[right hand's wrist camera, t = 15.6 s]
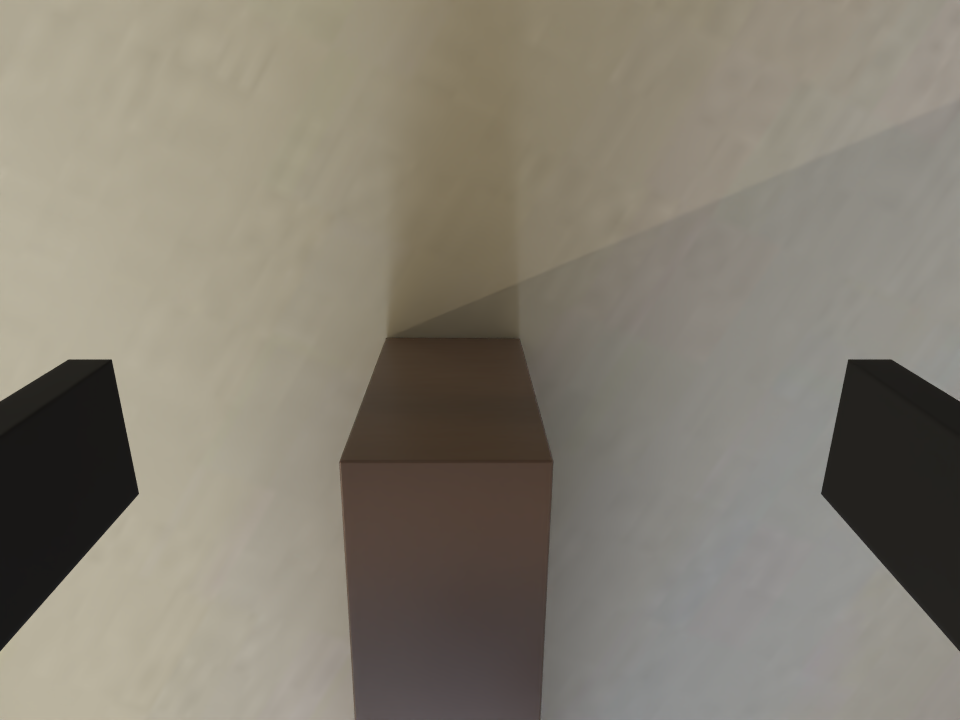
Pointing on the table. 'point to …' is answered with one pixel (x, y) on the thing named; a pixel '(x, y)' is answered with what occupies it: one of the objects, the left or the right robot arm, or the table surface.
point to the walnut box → (447, 533)
